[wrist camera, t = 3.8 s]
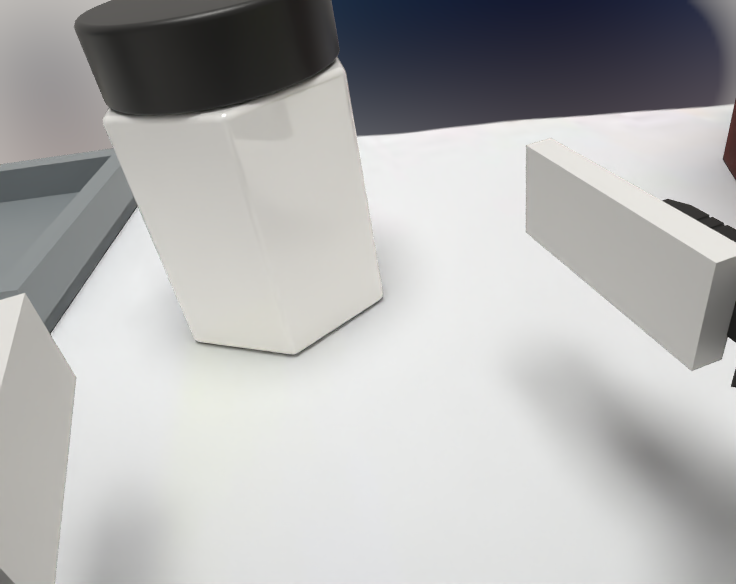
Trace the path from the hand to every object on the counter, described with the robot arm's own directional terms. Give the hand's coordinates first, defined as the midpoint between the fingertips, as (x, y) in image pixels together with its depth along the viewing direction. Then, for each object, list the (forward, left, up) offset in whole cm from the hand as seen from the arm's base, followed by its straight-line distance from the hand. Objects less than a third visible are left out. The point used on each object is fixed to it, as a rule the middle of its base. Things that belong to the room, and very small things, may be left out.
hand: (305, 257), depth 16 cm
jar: (-3, +8, -7) cm, 11 cm away
